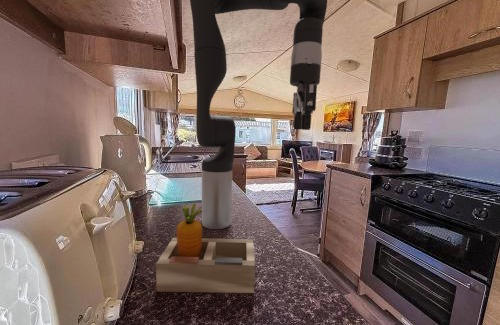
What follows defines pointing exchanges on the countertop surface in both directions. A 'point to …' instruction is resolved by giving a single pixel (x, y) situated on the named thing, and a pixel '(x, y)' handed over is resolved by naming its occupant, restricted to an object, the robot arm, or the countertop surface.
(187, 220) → the carrot
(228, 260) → the frame
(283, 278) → the countertop surface
